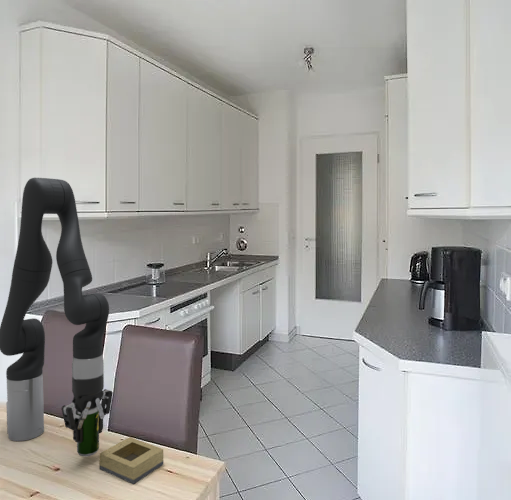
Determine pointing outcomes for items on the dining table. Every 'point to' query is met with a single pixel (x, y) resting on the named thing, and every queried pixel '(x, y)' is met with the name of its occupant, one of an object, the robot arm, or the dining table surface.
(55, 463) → the dining table surface
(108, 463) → the socket block
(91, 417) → the beer can
